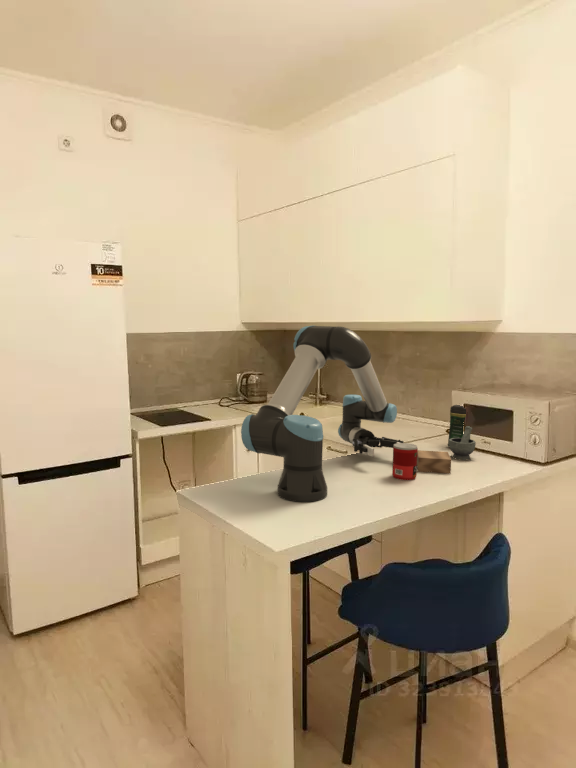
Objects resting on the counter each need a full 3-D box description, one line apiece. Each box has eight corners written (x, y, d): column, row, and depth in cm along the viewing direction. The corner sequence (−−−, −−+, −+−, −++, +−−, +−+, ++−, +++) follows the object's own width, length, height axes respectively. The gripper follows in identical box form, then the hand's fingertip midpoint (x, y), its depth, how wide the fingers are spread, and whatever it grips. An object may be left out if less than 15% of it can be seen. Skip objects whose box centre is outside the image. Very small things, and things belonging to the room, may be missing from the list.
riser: (418, 471, 190) (418, 457, 189) (416, 463, 200) (416, 450, 200) (450, 473, 188) (451, 459, 187) (447, 465, 198) (447, 451, 198)
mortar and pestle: (466, 462, 203) (468, 431, 201) (444, 457, 209) (445, 427, 208) (480, 457, 211) (481, 427, 209) (457, 452, 217) (459, 423, 216)
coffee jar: (464, 451, 220) (466, 406, 218) (445, 448, 225) (447, 404, 223) (472, 447, 228) (475, 403, 225) (454, 444, 233) (456, 401, 230)
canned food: (418, 480, 179) (419, 448, 177) (394, 480, 179) (395, 447, 178) (413, 474, 186) (415, 443, 185) (390, 473, 187) (391, 442, 185)
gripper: (390, 445, 216) (420, 458, 196) (332, 450, 207) (358, 464, 187) (390, 427, 215) (420, 438, 195) (333, 430, 206) (358, 443, 186)
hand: (390, 451), depth 191 cm, fingers open, 13 cm apart
